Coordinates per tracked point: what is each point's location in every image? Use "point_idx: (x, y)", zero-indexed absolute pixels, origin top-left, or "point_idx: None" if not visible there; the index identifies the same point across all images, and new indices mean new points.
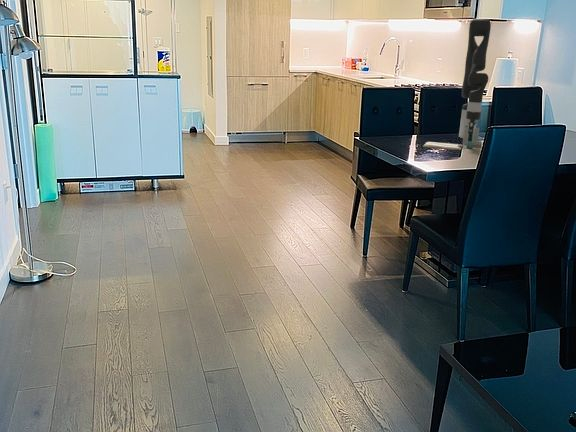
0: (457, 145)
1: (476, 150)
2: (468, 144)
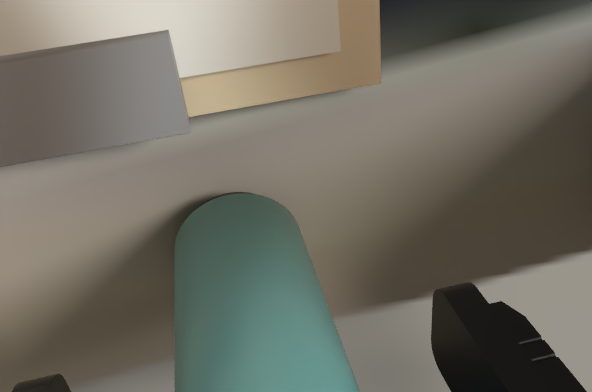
0: (125, 11)
1: (87, 379)
2: (175, 282)
